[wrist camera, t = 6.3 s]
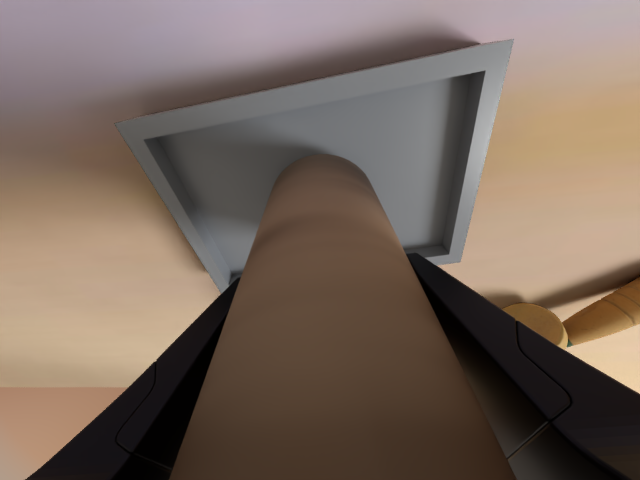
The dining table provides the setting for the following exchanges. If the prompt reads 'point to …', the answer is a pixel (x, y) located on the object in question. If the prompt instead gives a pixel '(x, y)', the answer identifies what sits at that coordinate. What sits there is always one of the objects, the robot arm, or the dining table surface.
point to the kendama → (584, 317)
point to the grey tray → (331, 150)
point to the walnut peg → (334, 353)
